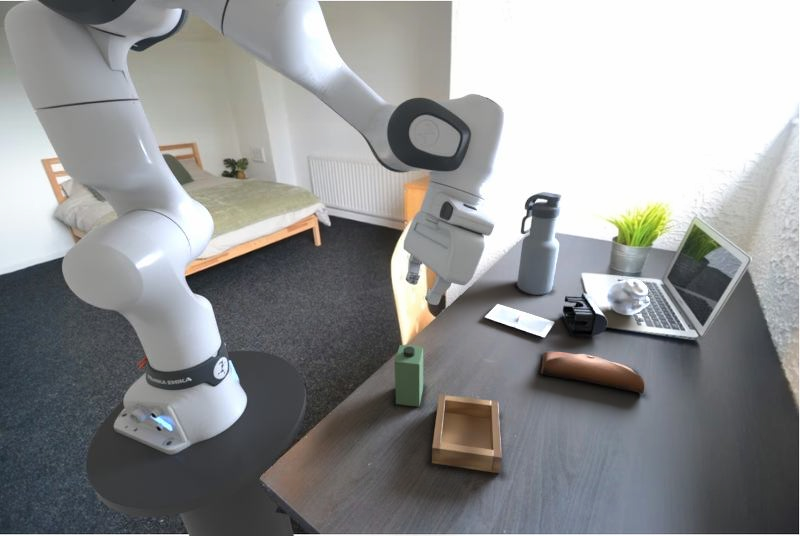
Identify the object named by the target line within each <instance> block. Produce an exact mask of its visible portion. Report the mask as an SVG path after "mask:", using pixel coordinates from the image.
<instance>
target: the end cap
mask: <svg viewBox="0 0 800 536" xmlns="http://www.w3.org/2000/svg"><path fill="white" fill-rule="evenodd" d="M564 302H565V303H568V304H574V305H563V307H562V319H563V321H564V323H565V325H566V326H567V328H568V330H569V332H570V335H571V336H573V337H584V338H585V337H586V338H591V337H594V336H598V335H600V334H602V333H604V331H606V329H607V327H608V324H609V322H608V319H607V317H606V315H605V314H604V313H603V311H602V309H600V307H599V305H598V304H597V302H596V301H595V300H594V298H593V297H592V296H591V295H590V294H588V293H586V292H581V296H580V295H579V296H577V295H565V297H564Z"/></svg>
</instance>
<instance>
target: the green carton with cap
mask: <svg viewBox="0 0 800 536" xmlns="http://www.w3.org/2000/svg"><path fill="white" fill-rule="evenodd" d="M398 346H399V347H398V349H397V352H396V356H395V359H394V381H395V382H394V385H395V405H402V406H410V407H418V408H419V407H420V406H421V401H422V397H423V391H424V346H416V345H406V344H405V345H404V344H399V345H398Z"/></svg>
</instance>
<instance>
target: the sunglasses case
mask: <svg viewBox="0 0 800 536" xmlns="http://www.w3.org/2000/svg"><path fill="white" fill-rule="evenodd" d="M541 359H542V360H541V371H540V374H541V375H544V376H550V377H557V378H562V379H570V380H577V381H582V382H587V383H591V384H596V385H603V386H607V387H611V388H616V389H621V390H625V391H630V392H635V393H638V394H641V395H643V393H644V390H645V381H644V379H643V377H642V376H641V375H640V374H638V373H636V372H635V371H634V370H633V369H632V368H631V367H629V366H627V365H624V364H621V363H618V362H614V361H610V360H607V359H604V358H601V357H600V356H595V355H590V354H585V353H577V354H575V353H569V352H561V351H548V350H547V351H544V352H543V354H542V358H541Z"/></svg>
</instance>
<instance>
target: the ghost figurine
mask: <svg viewBox="0 0 800 536" xmlns="http://www.w3.org/2000/svg"><path fill="white" fill-rule="evenodd" d="M648 295H649V289H648V287H647V285H645V283H644V282H642V281H641V280H638V279H635V278H634V279H633V278H631V279H627V280H626V279H625V280H619V281H616V282H615V283H613V284H612V285H611V286H610V287H609V288H608V290H607V293H606V301H607V304H608V306H609V307H610V308H611V310H612V311H614V312H615V313H617V314H619V315H623V316H632V315H636V314H638V313H639V312H641V311H642V310H643V309H644V308H647V307H649V306H650V304H651V300H650V298H649V297H648Z"/></svg>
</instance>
